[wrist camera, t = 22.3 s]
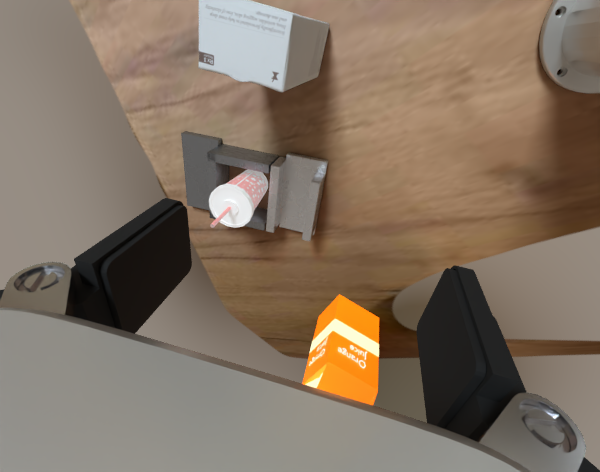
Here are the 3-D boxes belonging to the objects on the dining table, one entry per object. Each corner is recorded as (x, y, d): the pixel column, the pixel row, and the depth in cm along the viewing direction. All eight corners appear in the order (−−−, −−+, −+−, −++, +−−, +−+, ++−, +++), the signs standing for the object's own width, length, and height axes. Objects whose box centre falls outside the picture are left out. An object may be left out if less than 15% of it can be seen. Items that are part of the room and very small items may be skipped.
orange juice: (355, 338, 60) (345, 449, 43) (317, 316, 59) (292, 420, 43) (380, 317, 56) (378, 431, 39) (339, 293, 55) (320, 398, 38)
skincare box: (330, 23, 35) (301, 8, 22) (318, 81, 38) (286, 95, 26) (261, 5, 35) (196, -19, 23) (255, 63, 39) (194, 70, 26)
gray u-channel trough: (328, 160, 43) (321, 173, 38) (315, 231, 49) (308, 249, 45) (280, 150, 43) (269, 162, 39) (274, 222, 50) (263, 238, 46)
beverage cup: (233, 193, 49) (187, 237, 38) (238, 158, 46) (189, 194, 34) (268, 206, 49) (232, 254, 37) (276, 171, 45) (240, 212, 34)
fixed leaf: (279, 150, 44) (269, 159, 40) (272, 221, 50) (263, 235, 46) (185, 131, 46) (168, 138, 42) (191, 202, 52) (176, 214, 48)
